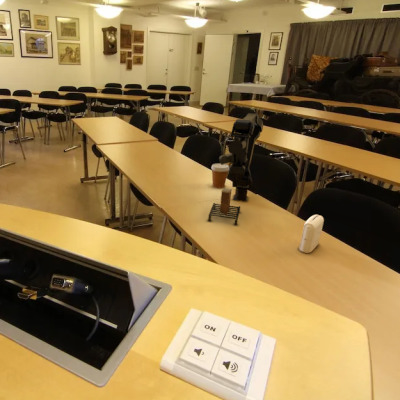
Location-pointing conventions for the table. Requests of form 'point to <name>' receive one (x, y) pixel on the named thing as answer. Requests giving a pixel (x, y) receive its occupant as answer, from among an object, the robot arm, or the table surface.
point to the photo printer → (311, 233)
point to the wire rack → (224, 214)
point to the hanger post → (225, 200)
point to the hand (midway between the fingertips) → (236, 182)
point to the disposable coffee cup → (219, 175)
